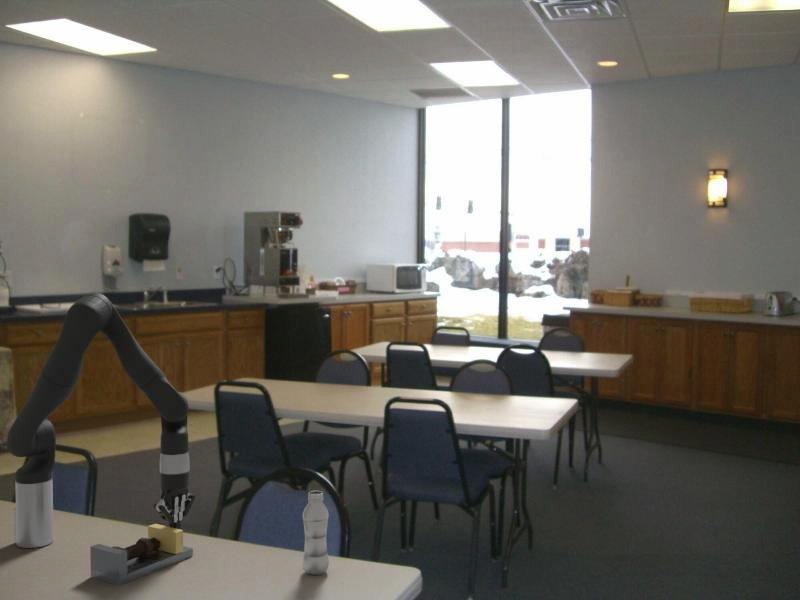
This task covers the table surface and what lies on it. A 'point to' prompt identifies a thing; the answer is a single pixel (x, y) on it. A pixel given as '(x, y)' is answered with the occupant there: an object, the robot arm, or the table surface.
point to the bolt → (141, 548)
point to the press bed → (129, 563)
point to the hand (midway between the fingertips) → (175, 534)
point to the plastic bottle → (315, 534)
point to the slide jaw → (167, 538)
